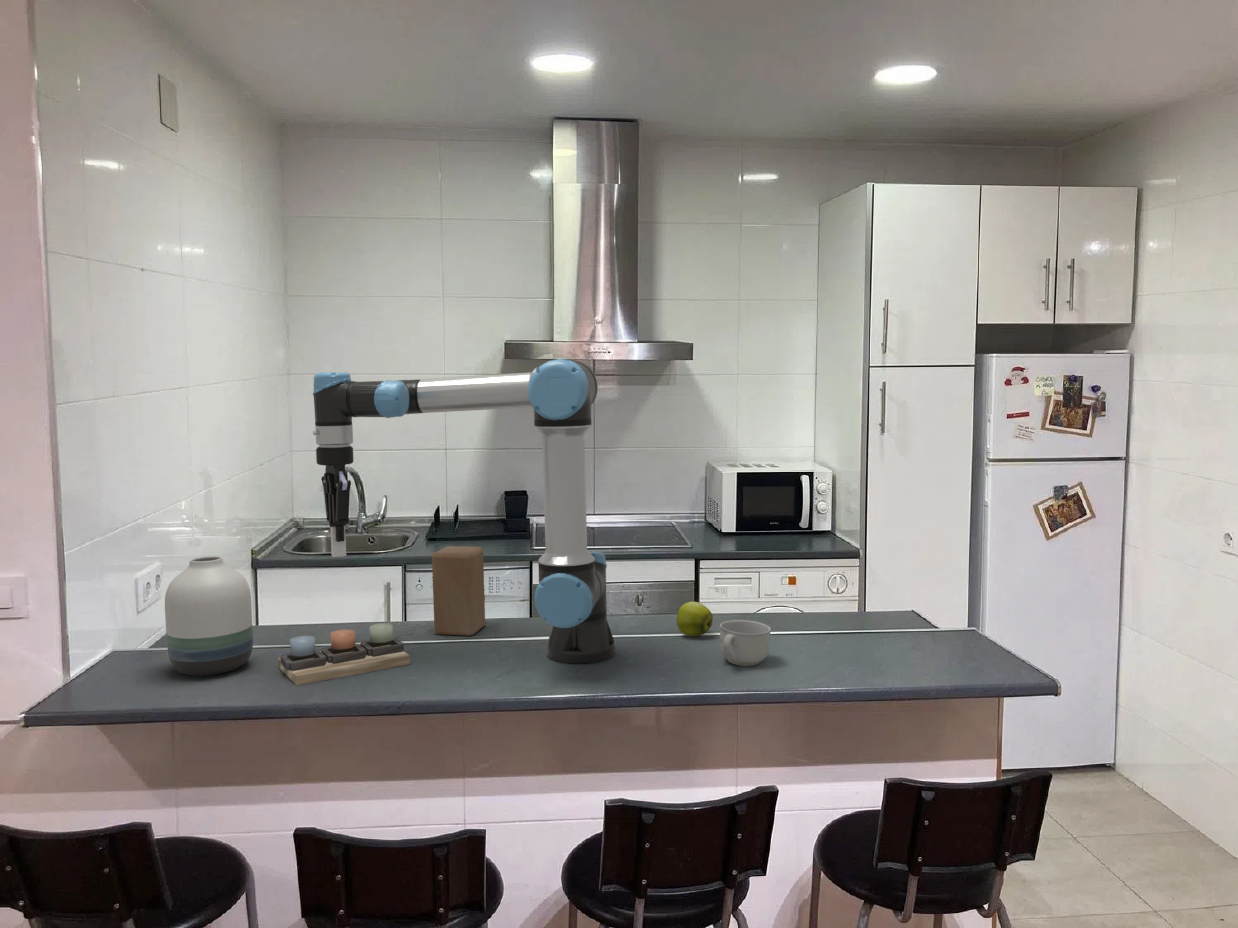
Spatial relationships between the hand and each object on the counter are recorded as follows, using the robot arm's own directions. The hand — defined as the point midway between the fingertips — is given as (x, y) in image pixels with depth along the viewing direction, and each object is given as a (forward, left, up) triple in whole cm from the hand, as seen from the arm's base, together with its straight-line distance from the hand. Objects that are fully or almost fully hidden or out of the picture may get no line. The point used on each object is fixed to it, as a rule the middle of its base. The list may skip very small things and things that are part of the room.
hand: (338, 555), depth 204 cm
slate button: (0, +8, -20) cm, 21 cm away
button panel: (0, 0, -24) cm, 24 cm away
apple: (-26, -75, -24) cm, 83 cm away
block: (+11, -32, -24) cm, 42 cm away
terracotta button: (0, 0, -20) cm, 20 cm away
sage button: (0, -9, -20) cm, 21 cm away
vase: (+14, +24, -24) cm, 37 cm away
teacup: (-49, -70, -24) cm, 89 cm away
